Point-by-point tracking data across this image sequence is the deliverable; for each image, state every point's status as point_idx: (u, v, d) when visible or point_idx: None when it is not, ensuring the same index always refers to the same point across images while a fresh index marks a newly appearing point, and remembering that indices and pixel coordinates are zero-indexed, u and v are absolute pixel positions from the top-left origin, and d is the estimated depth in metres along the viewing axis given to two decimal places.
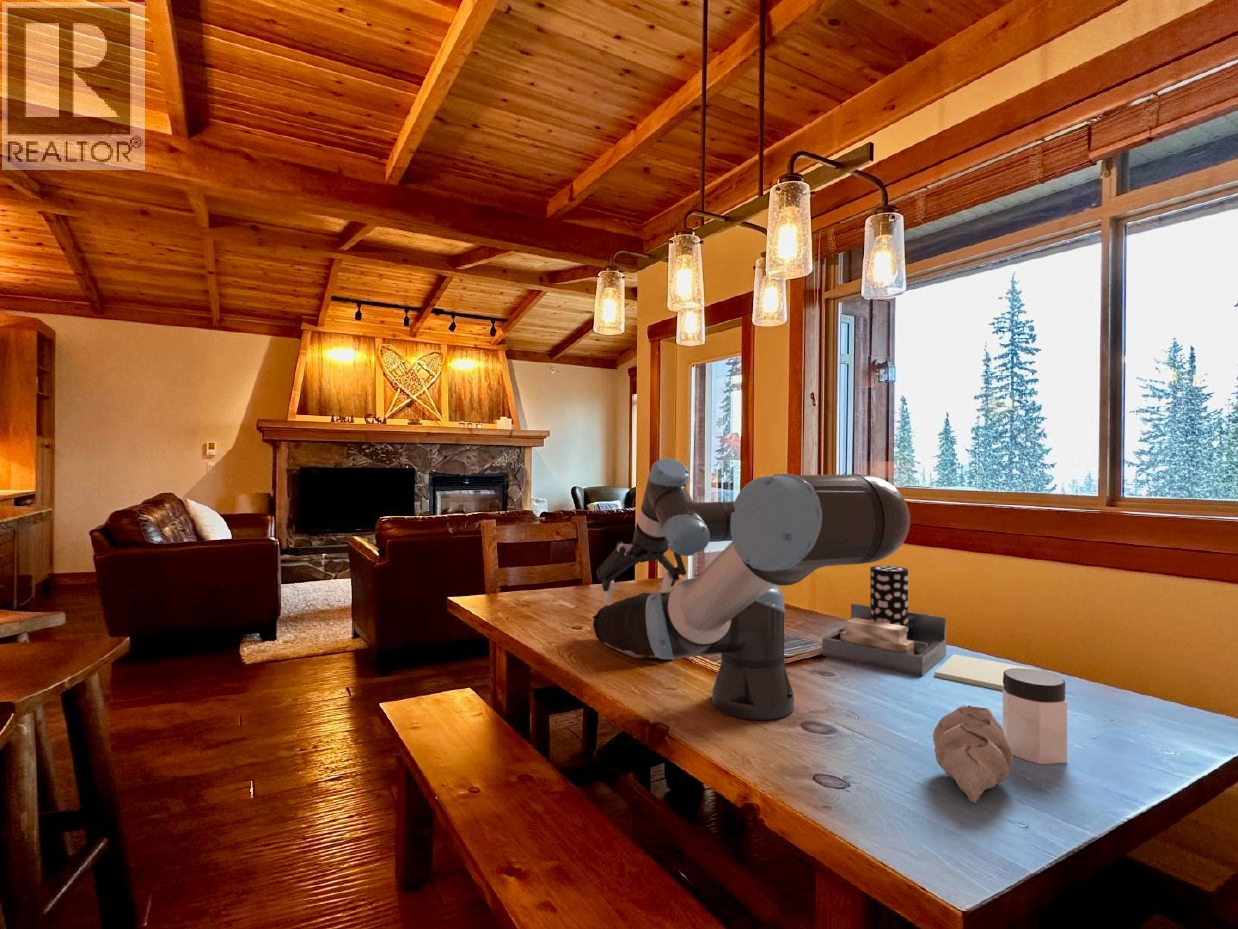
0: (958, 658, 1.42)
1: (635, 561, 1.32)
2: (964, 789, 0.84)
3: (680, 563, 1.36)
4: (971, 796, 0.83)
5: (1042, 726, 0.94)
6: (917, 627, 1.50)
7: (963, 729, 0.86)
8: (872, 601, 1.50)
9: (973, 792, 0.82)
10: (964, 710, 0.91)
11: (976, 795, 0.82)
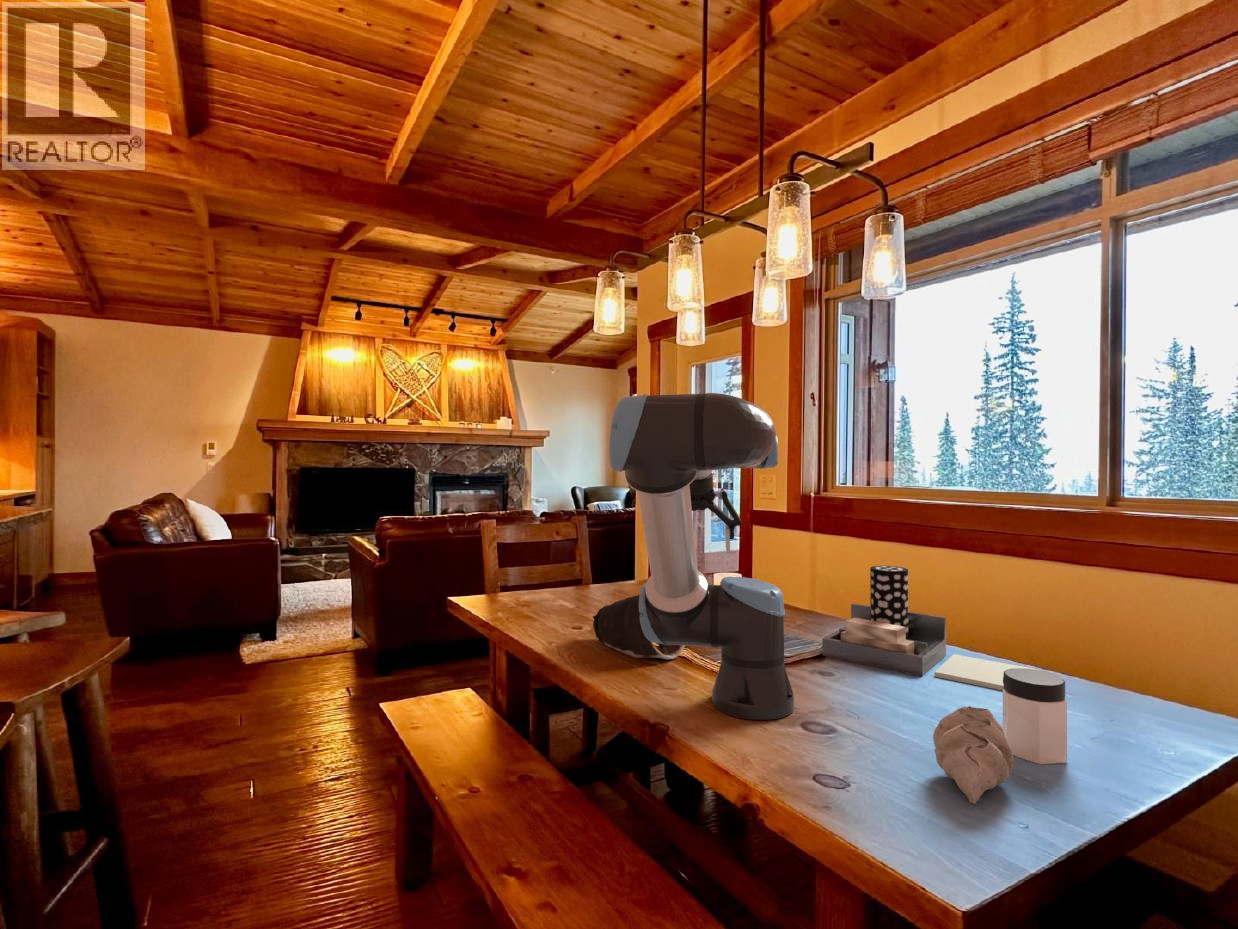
0: (958, 658, 1.42)
1: None
2: (964, 790, 0.84)
3: (731, 512, 1.49)
4: (971, 797, 0.83)
5: (1042, 726, 0.94)
6: (917, 627, 1.50)
7: (963, 730, 0.86)
8: (872, 601, 1.50)
9: (973, 793, 0.81)
10: (964, 711, 0.91)
11: (976, 796, 0.82)
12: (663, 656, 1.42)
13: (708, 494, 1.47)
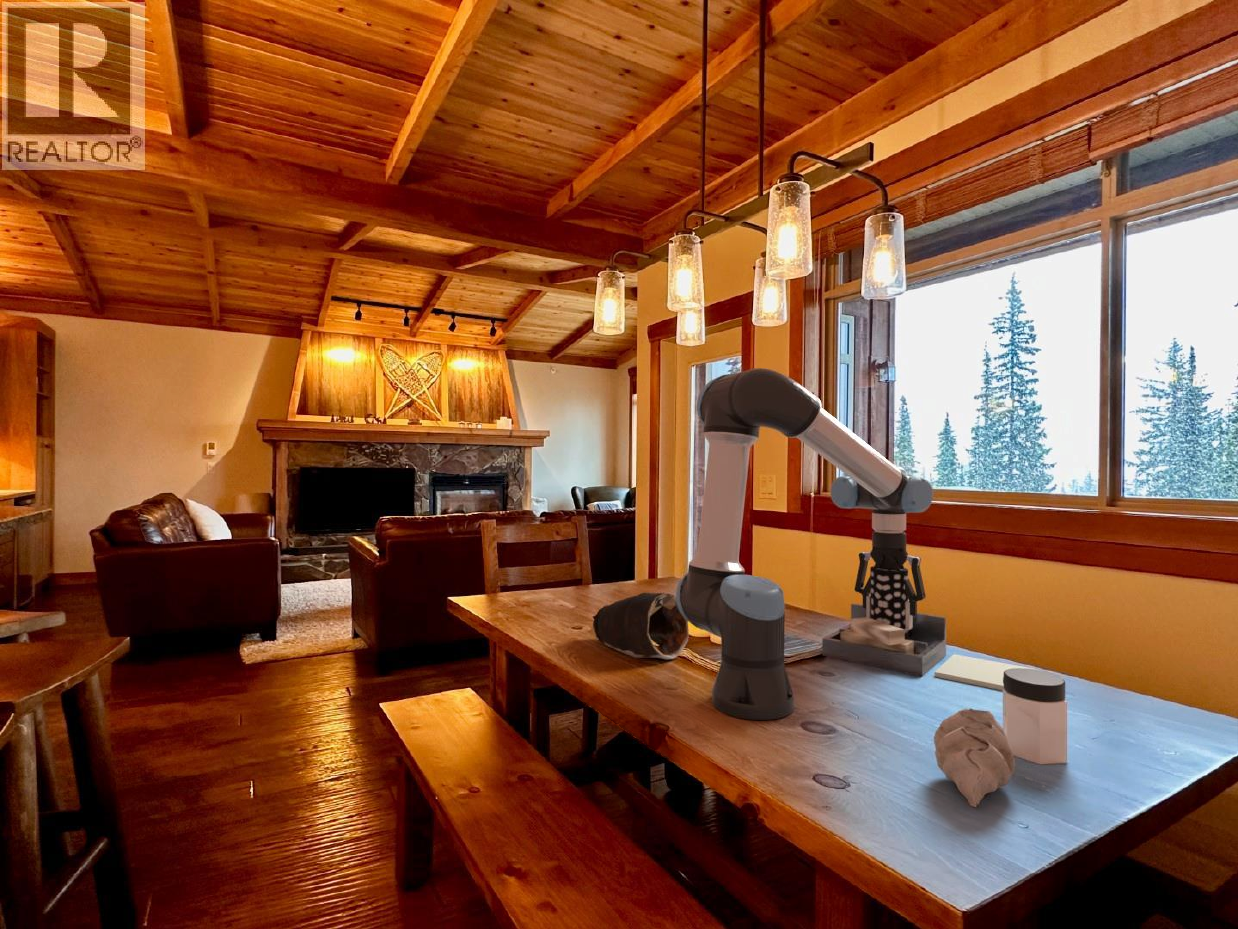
0: (958, 658, 1.42)
1: (875, 566, 1.50)
2: (964, 793, 0.83)
3: (916, 582, 1.45)
4: (971, 800, 0.82)
5: (1042, 726, 0.94)
6: (917, 627, 1.50)
7: (964, 732, 0.85)
8: (872, 601, 1.50)
9: (973, 796, 0.81)
10: (965, 713, 0.90)
11: (976, 799, 0.81)
12: (663, 656, 1.42)
13: (899, 553, 1.47)
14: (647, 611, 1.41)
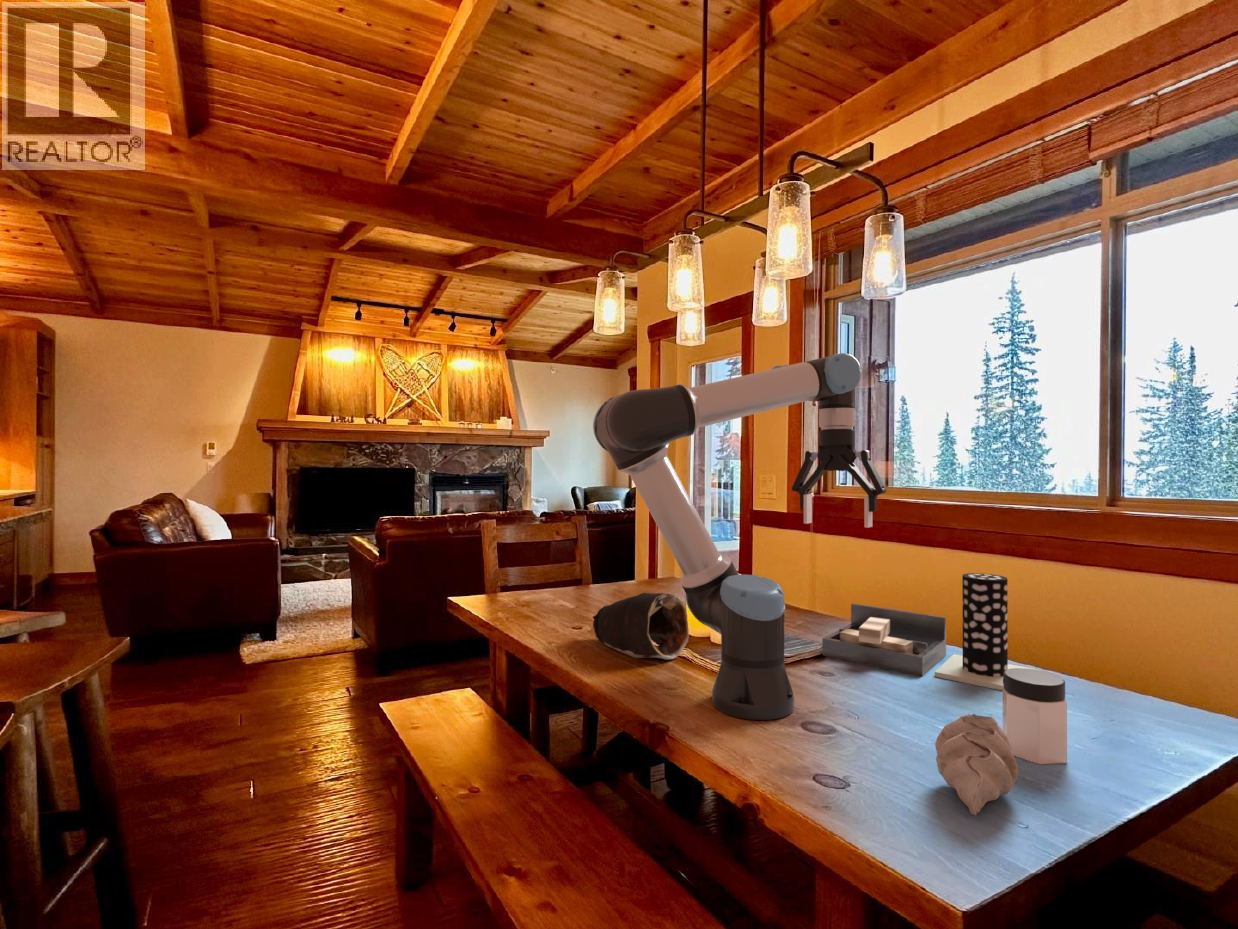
0: (958, 658, 1.42)
1: (820, 465, 1.38)
2: (965, 801, 0.81)
3: (871, 475, 1.32)
4: (971, 808, 0.80)
5: (1042, 726, 0.94)
6: (917, 627, 1.50)
7: (965, 739, 0.83)
8: (966, 613, 1.33)
9: (973, 804, 0.79)
10: (968, 719, 0.88)
11: (977, 807, 0.79)
12: (663, 656, 1.42)
13: (846, 452, 1.35)
14: (647, 611, 1.41)
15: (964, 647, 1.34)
